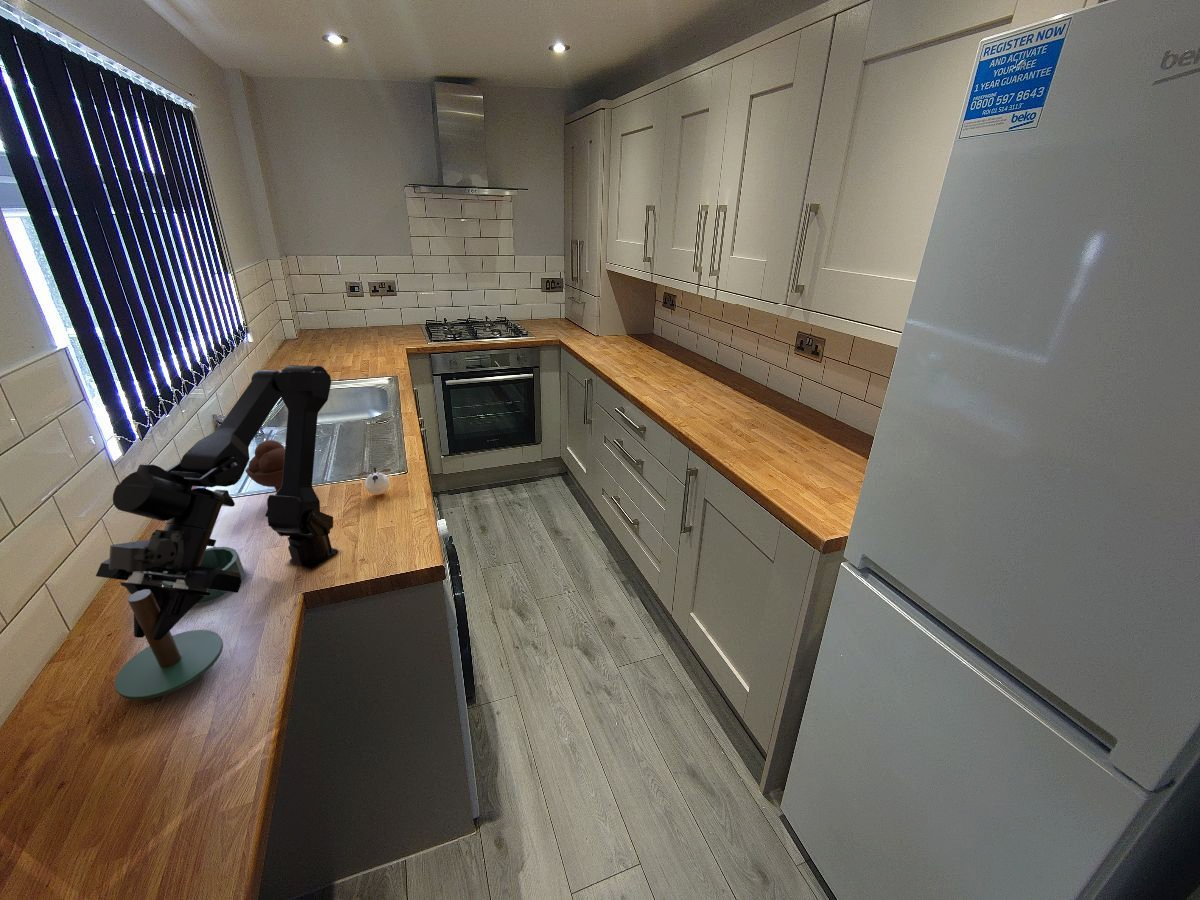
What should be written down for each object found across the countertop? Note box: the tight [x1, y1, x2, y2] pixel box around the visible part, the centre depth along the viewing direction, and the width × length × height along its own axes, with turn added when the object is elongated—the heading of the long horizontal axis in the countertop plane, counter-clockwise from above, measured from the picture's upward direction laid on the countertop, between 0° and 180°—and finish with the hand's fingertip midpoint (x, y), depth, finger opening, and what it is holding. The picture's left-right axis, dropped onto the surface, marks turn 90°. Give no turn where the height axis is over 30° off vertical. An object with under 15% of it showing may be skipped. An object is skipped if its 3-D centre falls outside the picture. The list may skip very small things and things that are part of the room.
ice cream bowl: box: [244, 439, 285, 493], centre depth 125 cm, size 11×11×15 cm
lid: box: [114, 589, 224, 701], centre depth 74 cm, size 13×13×13 cm
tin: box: [162, 546, 246, 605], centre depth 97 cm, size 12×12×5 cm
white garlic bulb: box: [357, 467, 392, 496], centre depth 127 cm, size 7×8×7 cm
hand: (147, 638), depth 73 cm, fingers closed on lid, 2 cm apart
